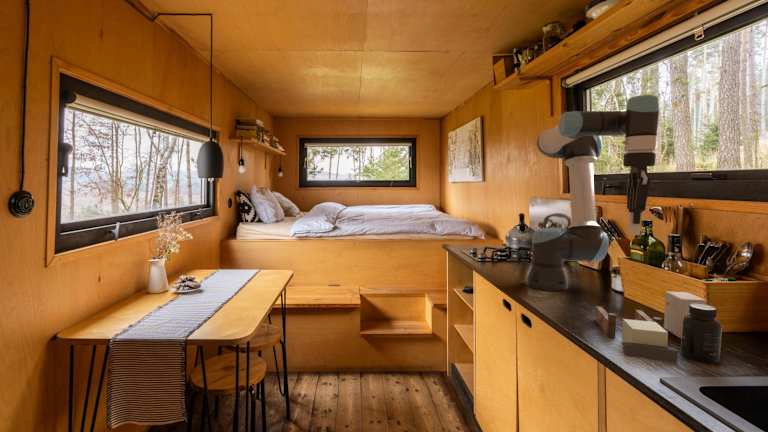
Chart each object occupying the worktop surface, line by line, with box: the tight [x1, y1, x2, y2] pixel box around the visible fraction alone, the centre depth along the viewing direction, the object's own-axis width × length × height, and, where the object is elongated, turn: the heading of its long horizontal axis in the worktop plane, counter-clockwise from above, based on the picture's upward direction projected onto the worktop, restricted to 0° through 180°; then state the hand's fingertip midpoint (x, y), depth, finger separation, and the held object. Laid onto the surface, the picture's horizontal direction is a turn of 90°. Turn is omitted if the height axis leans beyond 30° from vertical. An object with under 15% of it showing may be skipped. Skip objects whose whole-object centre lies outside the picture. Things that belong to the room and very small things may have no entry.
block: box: [621, 318, 669, 347], centre depth 88 cm, size 7×7×6 cm
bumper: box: [622, 342, 679, 363], centre depth 84 cm, size 2×10×2 cm, turn 72°
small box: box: [663, 290, 707, 339], centre depth 98 cm, size 8×6×10 cm
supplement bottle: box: [680, 303, 723, 365], centre depth 84 cm, size 7×7×12 cm
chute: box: [594, 305, 663, 339], centre depth 100 cm, size 14×12×6 cm
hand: (633, 234), depth 107 cm, fingers closed
